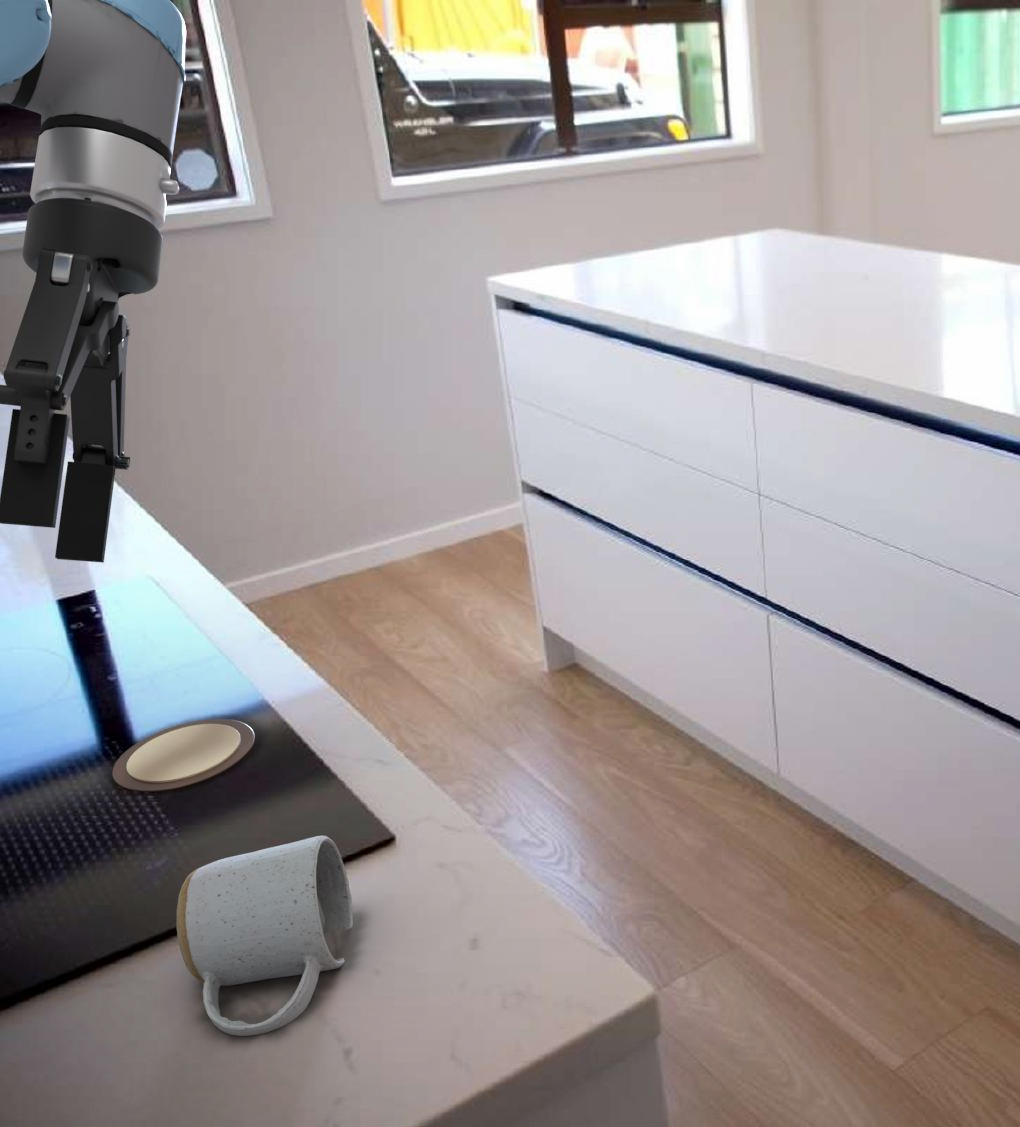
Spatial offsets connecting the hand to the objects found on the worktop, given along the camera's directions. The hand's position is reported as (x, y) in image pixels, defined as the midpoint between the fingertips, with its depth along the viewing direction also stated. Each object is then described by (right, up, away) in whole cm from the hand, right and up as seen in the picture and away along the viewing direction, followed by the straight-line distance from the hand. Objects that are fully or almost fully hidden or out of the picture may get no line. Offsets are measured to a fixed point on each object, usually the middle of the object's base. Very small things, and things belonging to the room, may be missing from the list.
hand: (55, 544), depth 79 cm
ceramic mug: (+15, -26, -3) cm, 30 cm away
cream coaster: (-2, -16, +20) cm, 26 cm away
